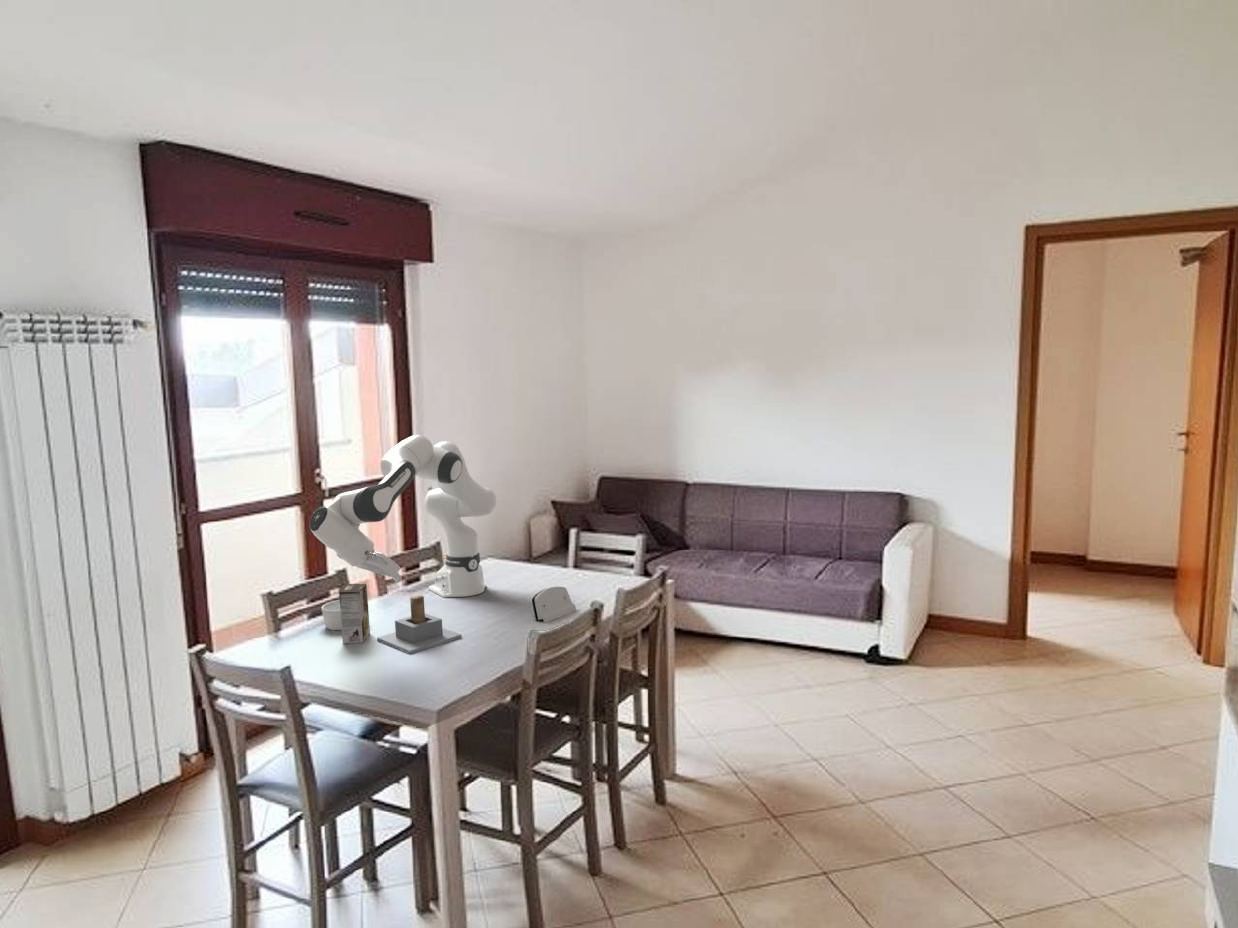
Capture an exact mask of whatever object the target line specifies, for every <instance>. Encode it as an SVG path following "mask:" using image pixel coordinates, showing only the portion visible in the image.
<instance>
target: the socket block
mask: <svg viewBox="0 0 1238 928" xmlns="http://www.w3.org/2000/svg"><path fill="white" fill-rule="evenodd" d="M394 627H395V631H394V632H391V633H388V634H384V635H382V636H378V637H377V638H376V639H377V640H376V641H377V642H379V641H380V643H382V644H384V643H385V645H387V646H388V647H389V646H390V647H391V646H392V648H393V649H396V648H397V649H396V650H399V649H401V650H403V651H402V652H404V651H405V652H404V653H406V652H408V653H412V654H414V653H413V652H415V653H417V652H416V651H418V652H421V651H424V650H427V649H430V648H434V647H436V646H440V645H443V644H446V643H450V642H453V641H455V640H459V639H462V638H463V637H462V634H461V633H459V632H455V631H453V630H451V629H447V628H445V627H443V620H442V618H439V617H437V616H434V615H431V614H428V613H425V622H422V623H419V624H413V623H412V620H411V616H407V617H403V618H400V619H397V620H395V621H394ZM423 649H424V650H423ZM401 650H400V651H401ZM420 650H421V651H420ZM408 653H407V654H408Z"/></svg>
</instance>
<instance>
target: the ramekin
mask: <svg viewBox="0 0 1238 928" xmlns="http://www.w3.org/2000/svg"><path fill="white" fill-rule="evenodd" d="M321 612H322V613H321V614H322V618H323V622H324V626H325V627H326V628H327V629H328V630H329V631H335V630H341V631H342V624H341V609H340V599H337V600H333V601H329V602H326V603H325V604H323V605H322V606H321Z"/></svg>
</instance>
